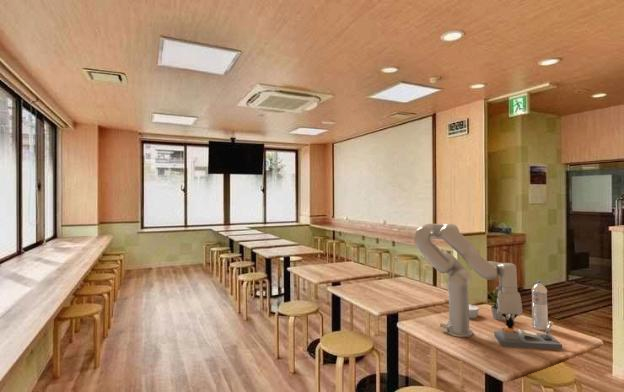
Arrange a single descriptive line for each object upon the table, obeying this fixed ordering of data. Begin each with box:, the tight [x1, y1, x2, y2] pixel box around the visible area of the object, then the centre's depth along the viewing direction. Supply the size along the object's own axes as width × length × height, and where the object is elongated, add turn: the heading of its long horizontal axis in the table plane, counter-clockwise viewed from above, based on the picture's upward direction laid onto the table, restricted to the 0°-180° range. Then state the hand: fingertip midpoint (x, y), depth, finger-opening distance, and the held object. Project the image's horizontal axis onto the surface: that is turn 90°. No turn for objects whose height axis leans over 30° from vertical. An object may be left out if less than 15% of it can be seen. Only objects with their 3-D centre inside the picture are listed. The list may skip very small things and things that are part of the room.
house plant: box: [485, 289, 505, 321], centre depth 198 cm, size 14×14×16 cm
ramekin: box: [469, 303, 480, 319], centre depth 205 cm, size 11×11×5 cm
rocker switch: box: [517, 328, 538, 338], centre depth 167 cm, size 7×4×1 cm, turn 78°
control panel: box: [493, 327, 563, 351], centre depth 167 cm, size 25×12×6 cm, turn 78°
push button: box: [503, 325, 515, 333], centre depth 169 cm, size 4×4×3 cm
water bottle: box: [531, 280, 549, 331], centre depth 184 cm, size 7×7×25 cm
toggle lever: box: [543, 320, 554, 336], centre depth 165 cm, size 2×2×8 cm
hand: (509, 327), depth 168 cm, fingers closed
